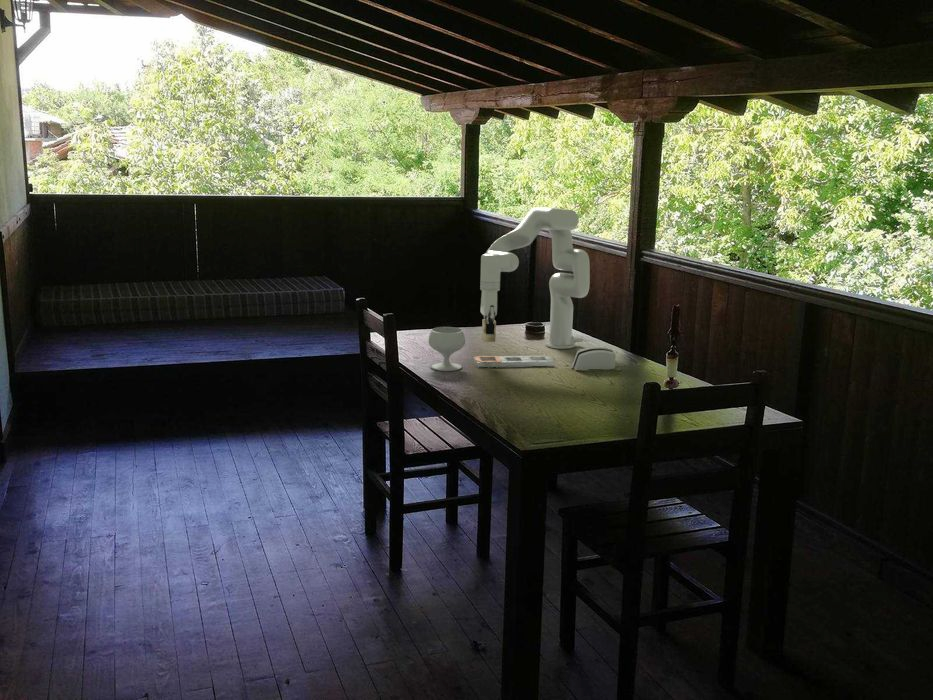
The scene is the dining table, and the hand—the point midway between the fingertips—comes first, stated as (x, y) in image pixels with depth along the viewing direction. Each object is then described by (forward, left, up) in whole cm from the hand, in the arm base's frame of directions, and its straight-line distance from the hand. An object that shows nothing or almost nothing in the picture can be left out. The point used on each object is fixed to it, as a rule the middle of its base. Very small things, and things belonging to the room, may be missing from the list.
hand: (488, 332), depth 340 cm
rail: (-10, 0, -13) cm, 16 cm away
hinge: (-40, +10, -13) cm, 43 cm away
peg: (0, 0, -3) cm, 3 cm away
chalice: (+17, +4, -13) cm, 22 cm away
